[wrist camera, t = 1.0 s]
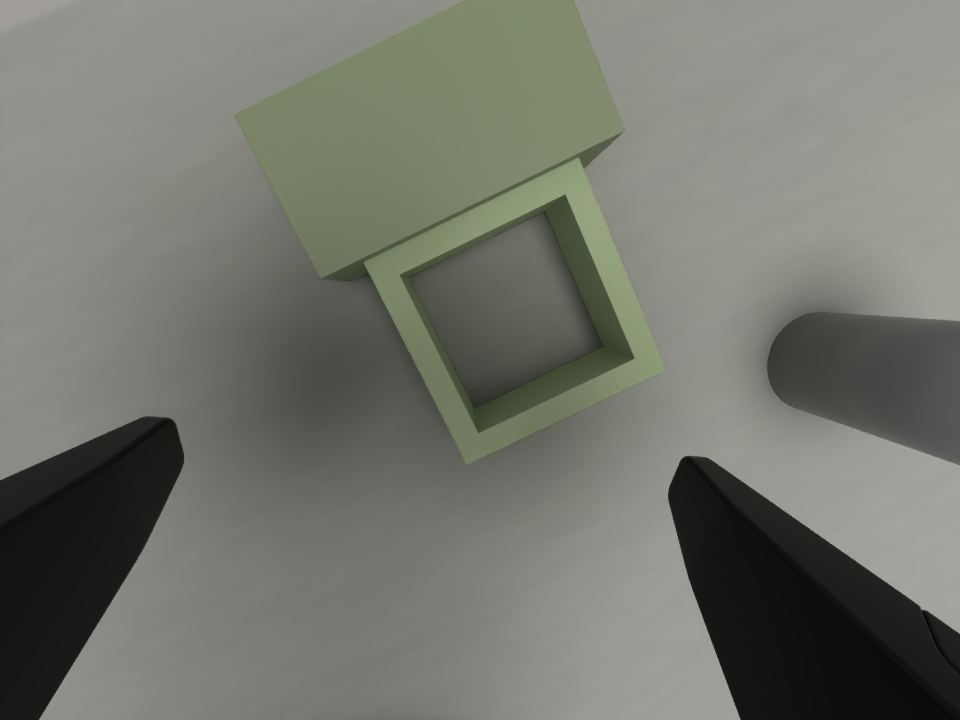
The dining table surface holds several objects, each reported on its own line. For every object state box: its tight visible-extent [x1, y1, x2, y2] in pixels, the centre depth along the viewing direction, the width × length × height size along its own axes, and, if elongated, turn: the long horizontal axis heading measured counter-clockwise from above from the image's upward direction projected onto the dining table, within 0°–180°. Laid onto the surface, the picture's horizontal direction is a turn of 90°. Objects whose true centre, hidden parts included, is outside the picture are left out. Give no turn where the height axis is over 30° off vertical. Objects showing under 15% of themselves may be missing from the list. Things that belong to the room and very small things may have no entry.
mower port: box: [234, 0, 666, 465], centre depth 19 cm, size 15×12×5 cm
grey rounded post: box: [768, 312, 960, 465], centre depth 17 cm, size 5×5×12 cm
